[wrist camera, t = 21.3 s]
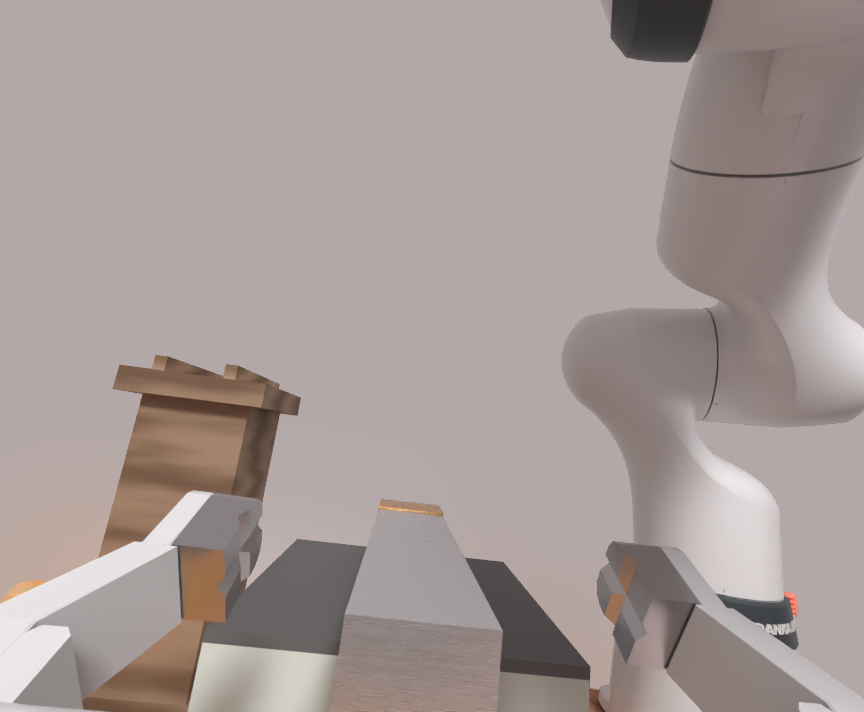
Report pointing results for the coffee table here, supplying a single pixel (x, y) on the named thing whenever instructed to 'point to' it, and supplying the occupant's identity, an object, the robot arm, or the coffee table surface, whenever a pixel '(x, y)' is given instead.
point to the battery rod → (416, 623)
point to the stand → (171, 480)
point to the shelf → (322, 628)
